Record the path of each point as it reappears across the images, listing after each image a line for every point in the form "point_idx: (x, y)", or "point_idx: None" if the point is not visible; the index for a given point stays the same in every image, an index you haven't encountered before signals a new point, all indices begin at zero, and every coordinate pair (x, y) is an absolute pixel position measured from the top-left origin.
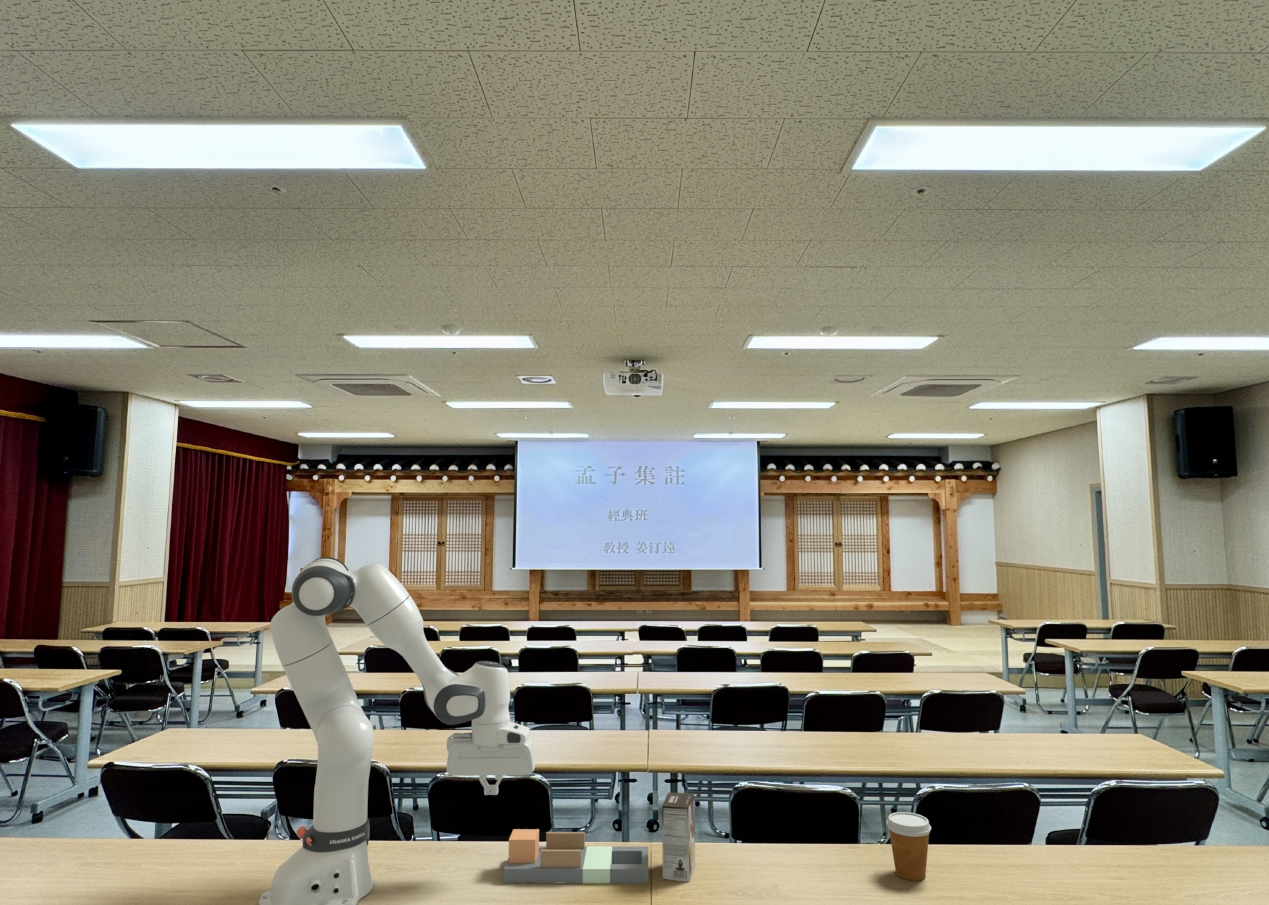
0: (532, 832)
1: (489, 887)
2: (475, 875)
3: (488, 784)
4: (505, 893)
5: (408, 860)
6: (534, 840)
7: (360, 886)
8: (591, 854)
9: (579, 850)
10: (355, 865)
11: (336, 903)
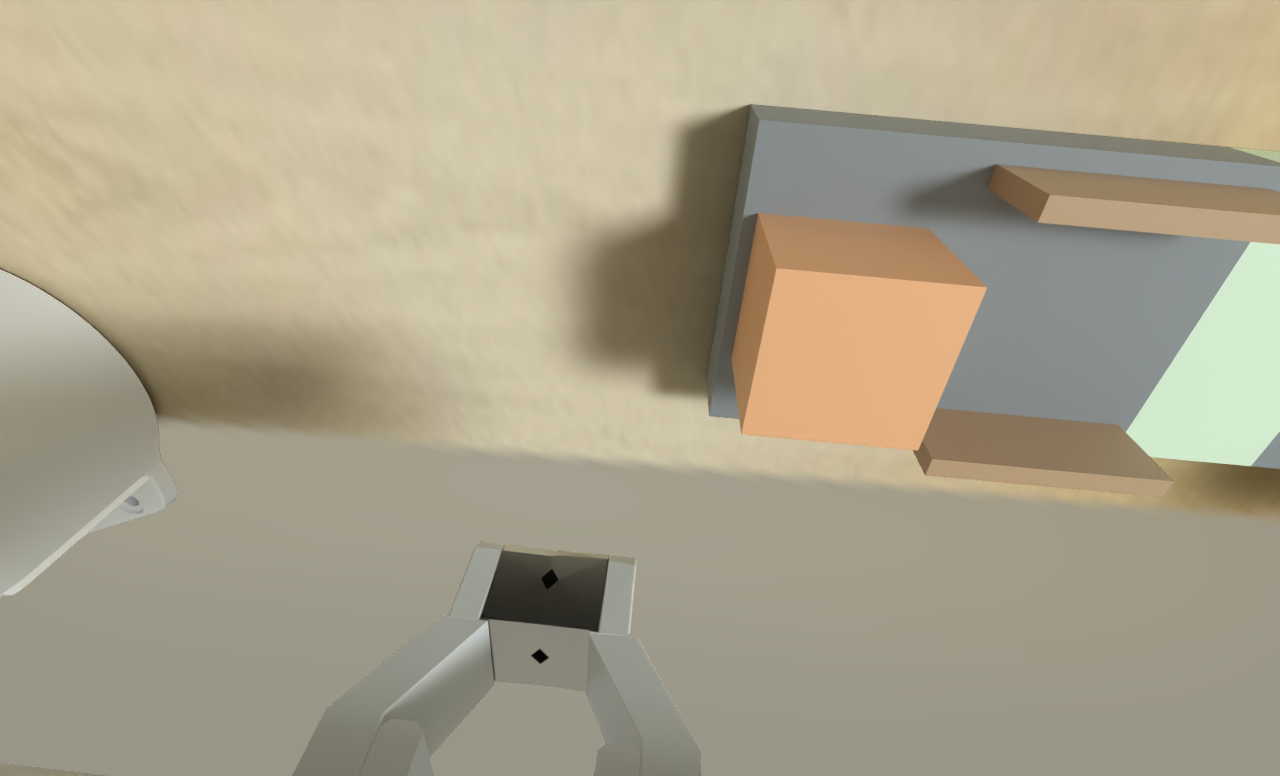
0: (921, 340)
1: (646, 406)
2: (558, 292)
3: (485, 620)
4: (719, 456)
5: (89, 62)
6: (911, 445)
7: (122, 475)
8: (1253, 297)
9: (1158, 490)
10: (37, 565)
11: (113, 510)
